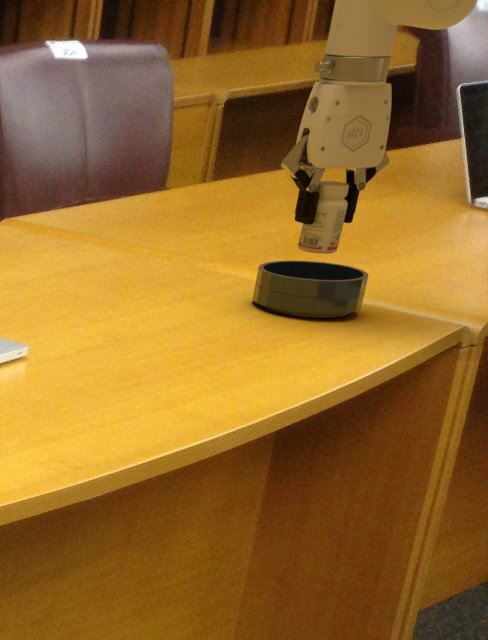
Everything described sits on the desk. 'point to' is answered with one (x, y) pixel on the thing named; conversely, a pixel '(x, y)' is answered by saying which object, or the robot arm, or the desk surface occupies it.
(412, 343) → the desk surface
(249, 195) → the desk surface
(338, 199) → the pill bottle
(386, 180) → the desk surface
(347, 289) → the bowl
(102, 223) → the desk surface
